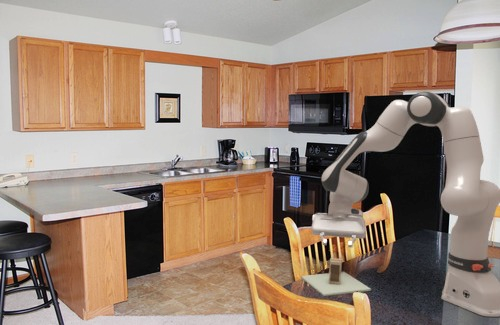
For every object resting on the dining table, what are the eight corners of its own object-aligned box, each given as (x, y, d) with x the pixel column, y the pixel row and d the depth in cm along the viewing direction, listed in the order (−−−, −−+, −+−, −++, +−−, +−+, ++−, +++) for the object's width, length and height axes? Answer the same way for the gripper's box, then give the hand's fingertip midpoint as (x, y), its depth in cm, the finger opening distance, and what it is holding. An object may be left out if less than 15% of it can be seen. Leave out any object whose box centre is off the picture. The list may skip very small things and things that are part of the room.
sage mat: (370, 290, 150) (370, 288, 150) (323, 296, 144) (323, 294, 144) (343, 273, 167) (344, 271, 167) (300, 277, 161) (300, 276, 161)
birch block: (329, 279, 158) (330, 258, 157) (340, 280, 157) (341, 259, 156) (328, 283, 154) (329, 261, 153) (340, 285, 153) (341, 262, 152)
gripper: (312, 208, 170) (308, 238, 162) (366, 211, 165) (365, 243, 156) (313, 217, 175) (309, 247, 166) (366, 220, 170) (365, 252, 161)
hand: (337, 245), depth 161 cm, fingers open, 8 cm apart
